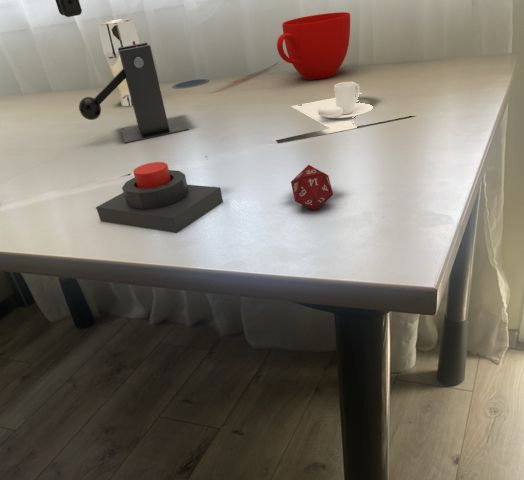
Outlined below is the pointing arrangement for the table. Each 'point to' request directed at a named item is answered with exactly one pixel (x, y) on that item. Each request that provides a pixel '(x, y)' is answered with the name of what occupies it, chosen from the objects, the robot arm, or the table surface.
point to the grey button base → (160, 204)
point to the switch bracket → (145, 96)
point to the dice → (311, 188)
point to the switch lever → (99, 98)
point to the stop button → (152, 175)
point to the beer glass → (112, 39)
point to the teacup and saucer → (333, 111)
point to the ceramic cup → (316, 43)
